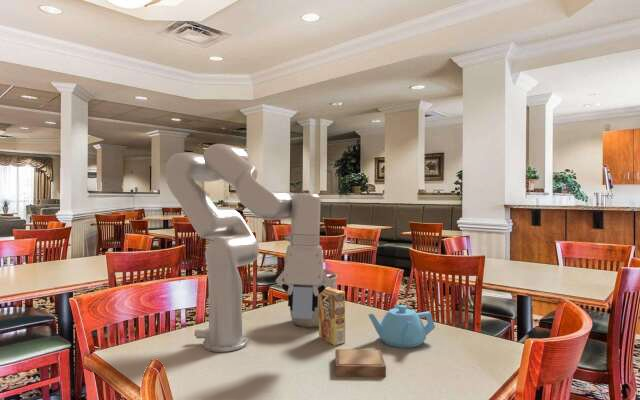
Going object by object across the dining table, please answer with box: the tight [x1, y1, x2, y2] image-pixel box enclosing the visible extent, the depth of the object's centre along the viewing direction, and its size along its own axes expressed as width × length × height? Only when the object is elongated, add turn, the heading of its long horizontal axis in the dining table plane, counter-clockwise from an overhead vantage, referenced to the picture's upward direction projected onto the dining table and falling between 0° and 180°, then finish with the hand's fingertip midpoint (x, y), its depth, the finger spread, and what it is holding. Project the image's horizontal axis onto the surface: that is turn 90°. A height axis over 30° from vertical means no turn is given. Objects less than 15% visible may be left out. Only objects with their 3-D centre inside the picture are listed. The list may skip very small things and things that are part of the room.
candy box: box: [318, 287, 346, 346], centre depth 127 cm, size 9×4×15 cm, turn 33°
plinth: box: [334, 348, 387, 378], centre depth 106 cm, size 12×11×3 cm
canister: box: [287, 268, 339, 328], centre depth 144 cm, size 18×18×21 cm
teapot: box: [367, 304, 436, 349], centre depth 126 cm, size 15×15×11 cm
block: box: [291, 285, 313, 319], centre depth 110 cm, size 5×5×8 cm
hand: (302, 308), depth 110 cm, fingers closed on block, 5 cm apart
